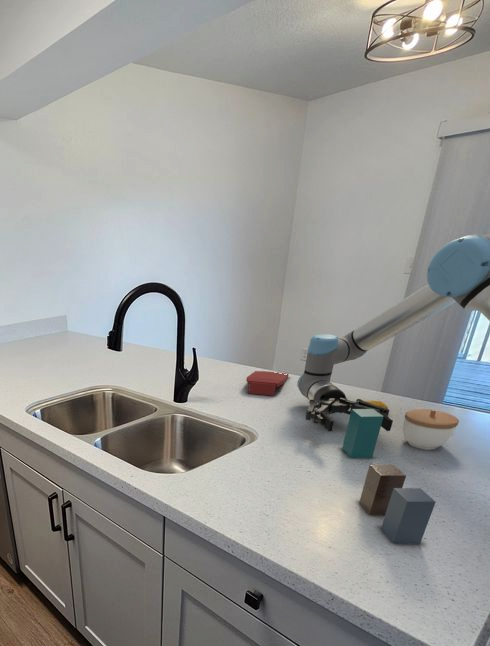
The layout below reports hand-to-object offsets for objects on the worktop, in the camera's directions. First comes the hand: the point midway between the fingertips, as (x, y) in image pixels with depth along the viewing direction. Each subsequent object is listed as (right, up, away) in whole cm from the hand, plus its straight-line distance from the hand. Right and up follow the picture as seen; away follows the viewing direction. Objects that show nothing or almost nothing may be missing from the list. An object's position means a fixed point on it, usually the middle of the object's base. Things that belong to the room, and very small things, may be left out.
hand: (360, 426), depth 107 cm
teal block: (0, -7, +2) cm, 7 cm away
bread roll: (+18, +6, +24) cm, 31 cm away
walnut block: (-9, -18, -19) cm, 28 cm away
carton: (-1, +19, +53) cm, 57 cm away
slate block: (-10, -22, -27) cm, 37 cm away
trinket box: (+19, -5, +4) cm, 20 cm away
